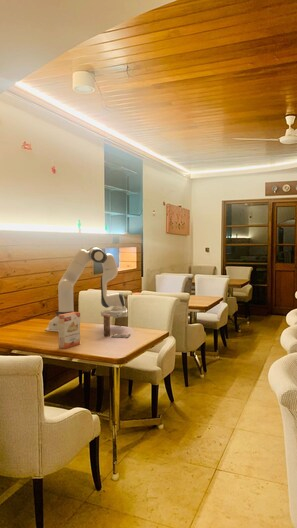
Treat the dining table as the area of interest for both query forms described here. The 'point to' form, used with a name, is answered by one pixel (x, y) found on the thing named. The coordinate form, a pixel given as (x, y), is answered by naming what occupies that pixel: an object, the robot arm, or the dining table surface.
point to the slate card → (120, 335)
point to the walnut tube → (106, 325)
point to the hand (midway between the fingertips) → (111, 315)
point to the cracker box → (69, 329)
